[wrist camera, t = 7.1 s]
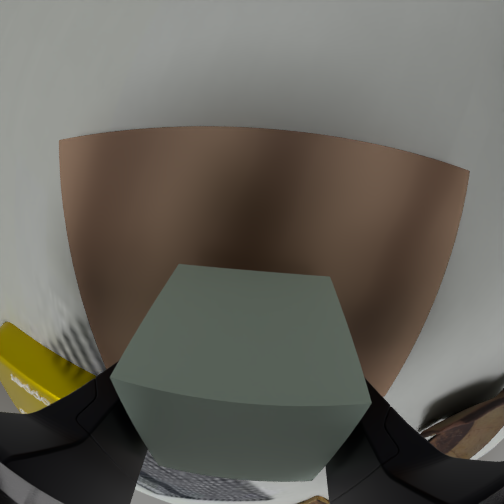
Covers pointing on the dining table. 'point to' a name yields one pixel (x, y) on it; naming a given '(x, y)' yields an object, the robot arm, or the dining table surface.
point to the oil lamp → (468, 428)
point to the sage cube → (243, 375)
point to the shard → (316, 500)
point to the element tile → (35, 371)
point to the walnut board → (261, 225)
